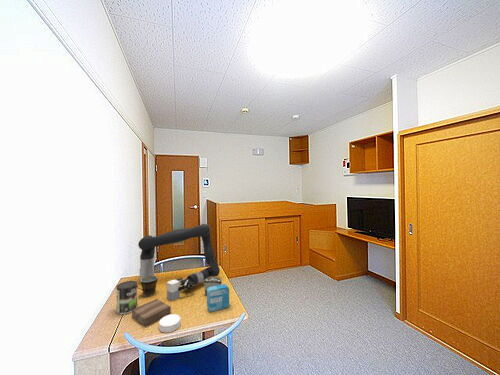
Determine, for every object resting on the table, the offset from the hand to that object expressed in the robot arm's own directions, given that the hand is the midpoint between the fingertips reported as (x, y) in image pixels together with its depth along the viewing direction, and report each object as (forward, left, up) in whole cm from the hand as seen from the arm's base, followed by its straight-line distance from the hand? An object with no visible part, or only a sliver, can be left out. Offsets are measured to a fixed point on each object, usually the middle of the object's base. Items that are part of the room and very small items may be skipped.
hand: (174, 287), depth 136 cm
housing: (0, -1, -6) cm, 6 cm away
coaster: (+20, -22, -7) cm, 30 cm away
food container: (+20, +14, -6) cm, 25 cm away
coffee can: (-14, -22, -6) cm, 27 cm away
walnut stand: (+4, -20, -6) cm, 21 cm away
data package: (+32, +2, -6) cm, 33 cm away
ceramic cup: (-18, -6, -6) cm, 20 cm away
